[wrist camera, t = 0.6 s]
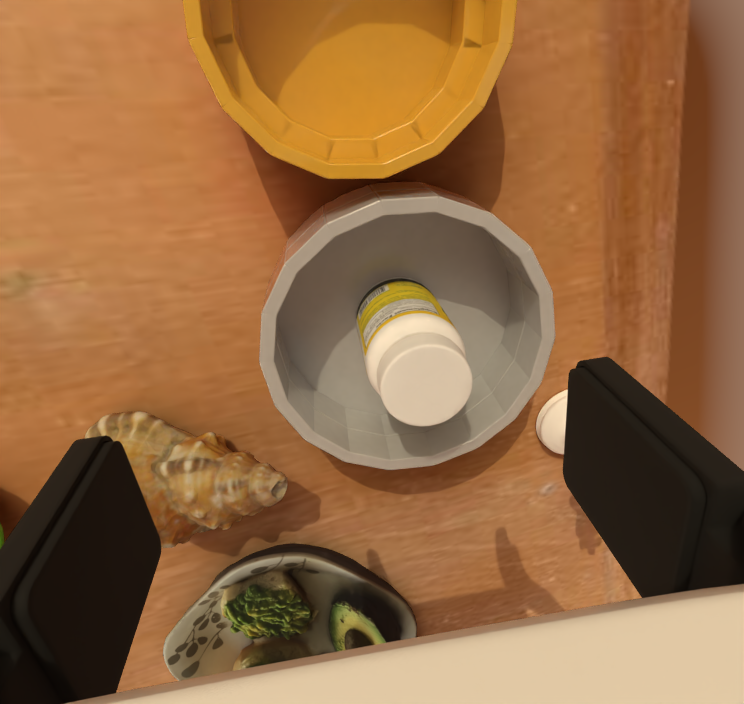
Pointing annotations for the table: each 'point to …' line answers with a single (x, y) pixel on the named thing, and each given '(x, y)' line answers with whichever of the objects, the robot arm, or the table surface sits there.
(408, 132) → the yellow bowl
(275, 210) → the table surface
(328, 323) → the gray round dish
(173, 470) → the seashell
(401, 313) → the supplement bottle
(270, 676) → the robot arm
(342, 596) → the salad plate
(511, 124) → the table surface
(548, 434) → the chess piece
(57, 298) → the table surface
